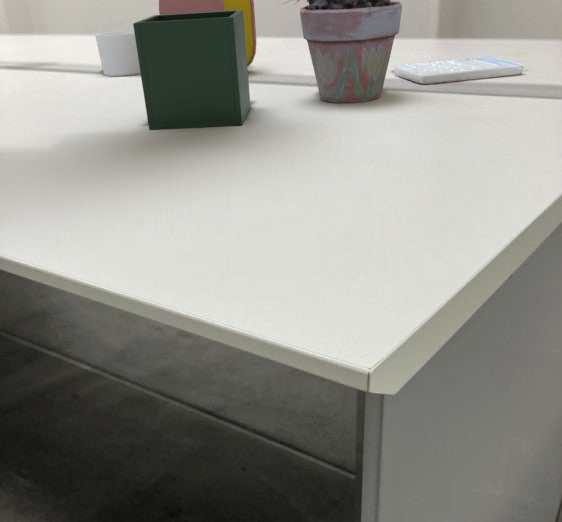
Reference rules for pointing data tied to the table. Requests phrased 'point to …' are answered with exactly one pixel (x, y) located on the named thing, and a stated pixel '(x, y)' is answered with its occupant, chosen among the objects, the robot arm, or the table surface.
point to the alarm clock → (180, 3)
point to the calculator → (458, 70)
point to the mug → (118, 53)
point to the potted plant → (350, 46)
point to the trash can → (194, 69)
